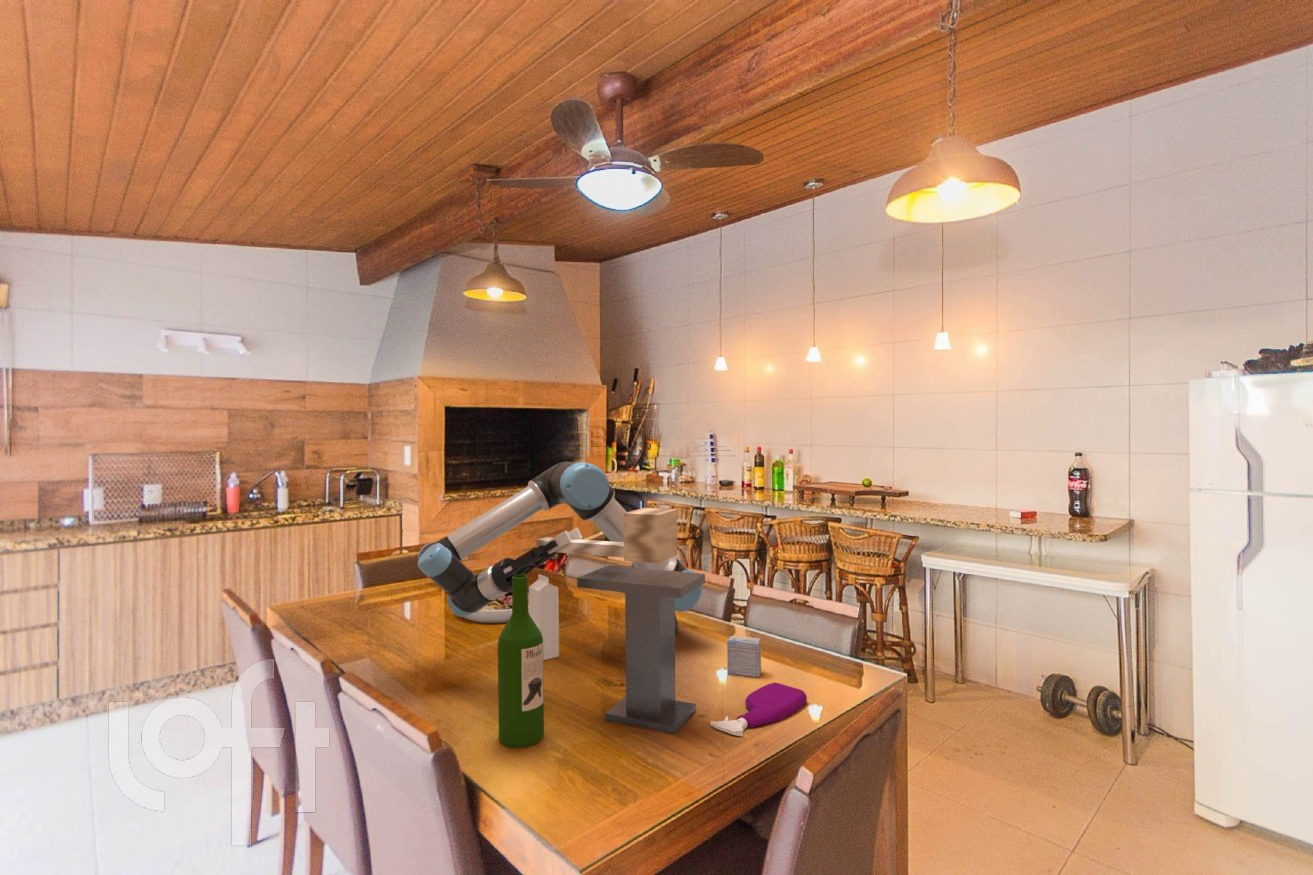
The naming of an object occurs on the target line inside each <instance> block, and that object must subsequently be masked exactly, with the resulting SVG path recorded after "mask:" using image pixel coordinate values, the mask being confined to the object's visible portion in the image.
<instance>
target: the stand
mask: <svg viewBox="0 0 1313 875" xmlns="http://www.w3.org/2000/svg"><path fill="white" fill-rule="evenodd" d="M704 584H706V573H701V572H695V573H690V572H678V571H667V570H656V569H644V568H634V566H631V567H630V566H620V565H609V564H608V565H606V566H604V567H603V566H602V567H601V568H598V569H595V570H593V571H591V572H588V573H586V574H584V575H581V576H579V577H577V578H576V587H577V588H580V589H587V590H588V589H590V590H600V591H608V592H619V593H624V609H625V610H624V611H625V615H624V616H625V617H624V618H625V621H624V622H625V624H624V625H625V627H624V628H625V696H624V697H623V698H622V699H621V700H620V701H618V702H617V703H615V705H613V706H612V707H611V708H610V709H608V710H607V711H606V712H605V715H604V720H605V721H607V722H611V723H612V722H613V723H617V724H621V725H626V726H632V727H636V728H642V729H647V730H651V731H657V732H662V733H666V734H672V735H676V734H677V733H678V731H679V730H680V729H681V728H682V727H683V726H684V725H685V723H686V722H687V721H688V720H689V719H691V717H692V716H693V715H694V713H696V712H697V705H696V703H695V702H694V703H693V702H687V701H682V700H677V699H676V635H675V615H676V610H675V598H682V597H684V596H685V595H687V594H689V593H690V592H692V591H693V590H695V589H696V588H698V587H700V586H701V585H702V586H703V585H704Z"/></svg>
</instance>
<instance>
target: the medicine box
mask: <svg viewBox="0 0 1313 875" xmlns="http://www.w3.org/2000/svg"><path fill="white" fill-rule="evenodd" d="M761 647H762V641H761V638H760V637H759V638H758V637H751V636H739V635H738V636H737V635H731V636H730V637H728V640H727V641H726V649H727V650H726V652H727V653H726V655H727V656H726V660H727V662H726V664H727V665H726V667H727V668H726V669H727V672H726V673H727V675H733V676H743V677H749V678H750V677H752V678H759V677H760V674H761V672H762V649H761Z"/></svg>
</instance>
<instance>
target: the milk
mask: <svg viewBox="0 0 1313 875" xmlns="http://www.w3.org/2000/svg"><path fill="white" fill-rule="evenodd" d="M537 577H538V578H537V580H535V581H534V582H533V583H531V585H530V586H528V587H529V615H530V617H531V618H532V620H533V621H534V623H535V624H536V626H537V627H538V629H539V630H540V632H541V634H542V638H543V661H546V660H549V659H555V658H558V657H560V632H559V631H560V626H559V625H560V624H559V622H560V621H559V620H560V619H559V618H560V617H559V616H560V615H559V614H560V613H559V612H560V610H559V609H560V608H559V606H560V604H559V587H558V586H555V585H554V584H552V583H550V579H549V577H548V576H546V575H542V574H540V573H538V576H537Z"/></svg>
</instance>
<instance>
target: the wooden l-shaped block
mask: <svg viewBox="0 0 1313 875" xmlns="http://www.w3.org/2000/svg"><path fill="white" fill-rule="evenodd" d="M552 538H553V537H550V536H545V537H541V538H538V539H536V548H537V547H539V546H540V545H543V546H545V545H544V543H546V542H547V541H549V540H551V539H552ZM571 540H572V541H571V542H569V543H568V544H566V545H565V546H563V547H561V548H560V549H558V550H556V551H555V552H560V553H561V554H562V553H563V554H571V555H572V554H575V555H577V554H578V555H584V556H585V555H586V556H600V557H611V558H614V557H615V558H623V561H624V562H630V561H633V562H645V563H658V564H659V563H661V562H663V561H666V560H668V559H670V558H672V557H674V556H675V557H676V556H678V509H677V508H675V509H674V508H658V507H657V508H654V507H653V508H652V507H642V508H639V509H635V510H631V511H626V513H624V542H611V541H610V540H609V541H606V540H594V539H571ZM560 553H559V554H560Z"/></svg>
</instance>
